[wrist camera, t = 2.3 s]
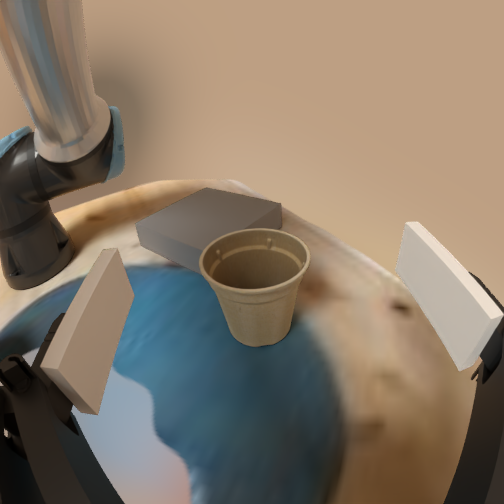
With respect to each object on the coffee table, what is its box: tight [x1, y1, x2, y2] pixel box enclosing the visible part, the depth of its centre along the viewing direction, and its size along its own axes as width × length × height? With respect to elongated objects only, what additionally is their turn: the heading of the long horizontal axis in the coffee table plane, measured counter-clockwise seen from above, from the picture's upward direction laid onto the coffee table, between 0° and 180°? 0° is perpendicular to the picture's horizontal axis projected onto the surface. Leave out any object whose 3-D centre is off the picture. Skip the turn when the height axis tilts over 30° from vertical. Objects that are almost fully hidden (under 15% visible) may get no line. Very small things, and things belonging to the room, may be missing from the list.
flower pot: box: [199, 228, 311, 347], centre depth 27 cm, size 9×9×9 cm
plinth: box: [135, 188, 282, 275], centre depth 45 cm, size 16×16×4 cm
